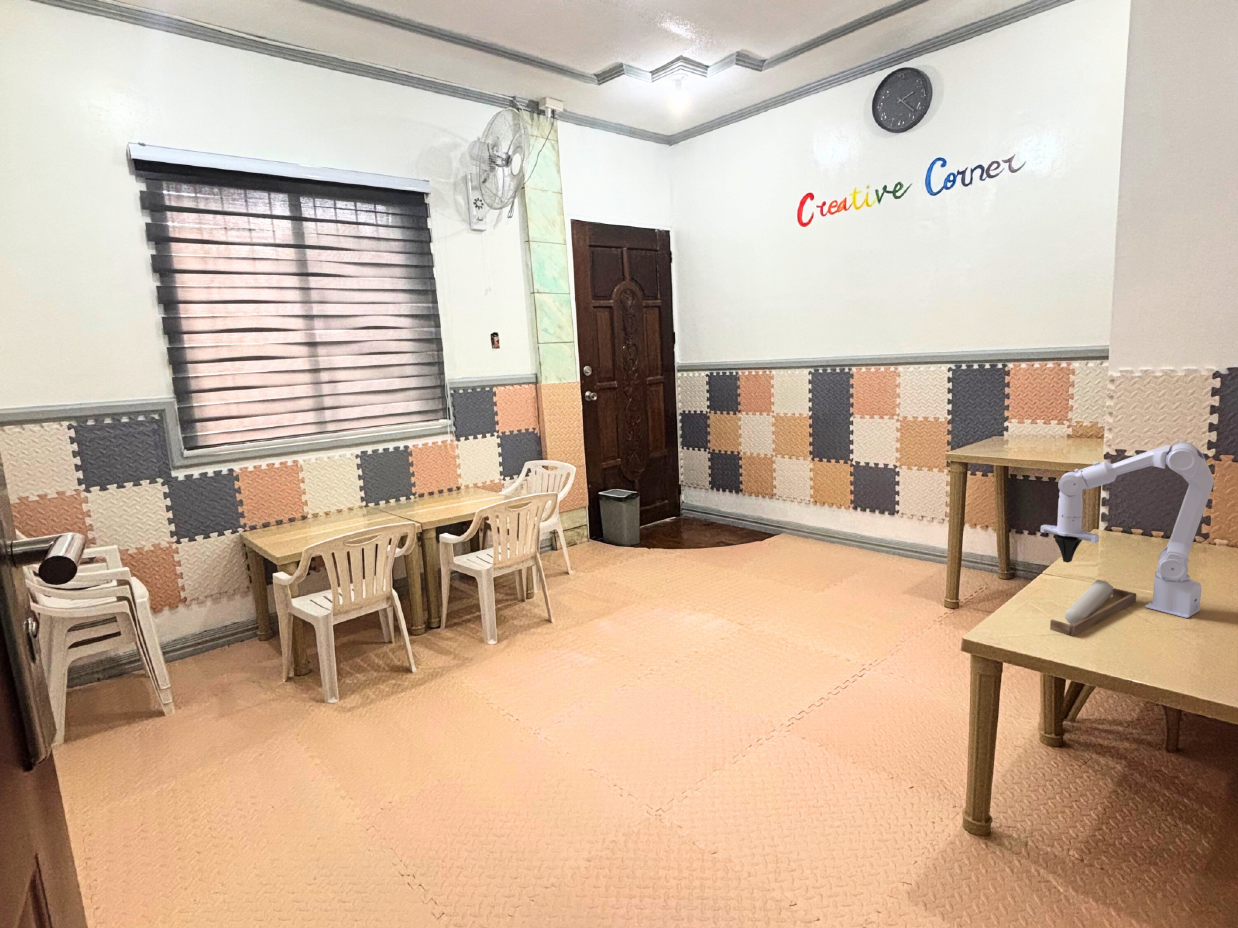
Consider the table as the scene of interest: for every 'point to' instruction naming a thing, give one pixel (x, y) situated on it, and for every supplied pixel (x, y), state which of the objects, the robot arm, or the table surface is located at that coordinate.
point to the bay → (1096, 614)
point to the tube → (1089, 601)
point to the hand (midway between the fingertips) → (1067, 561)
